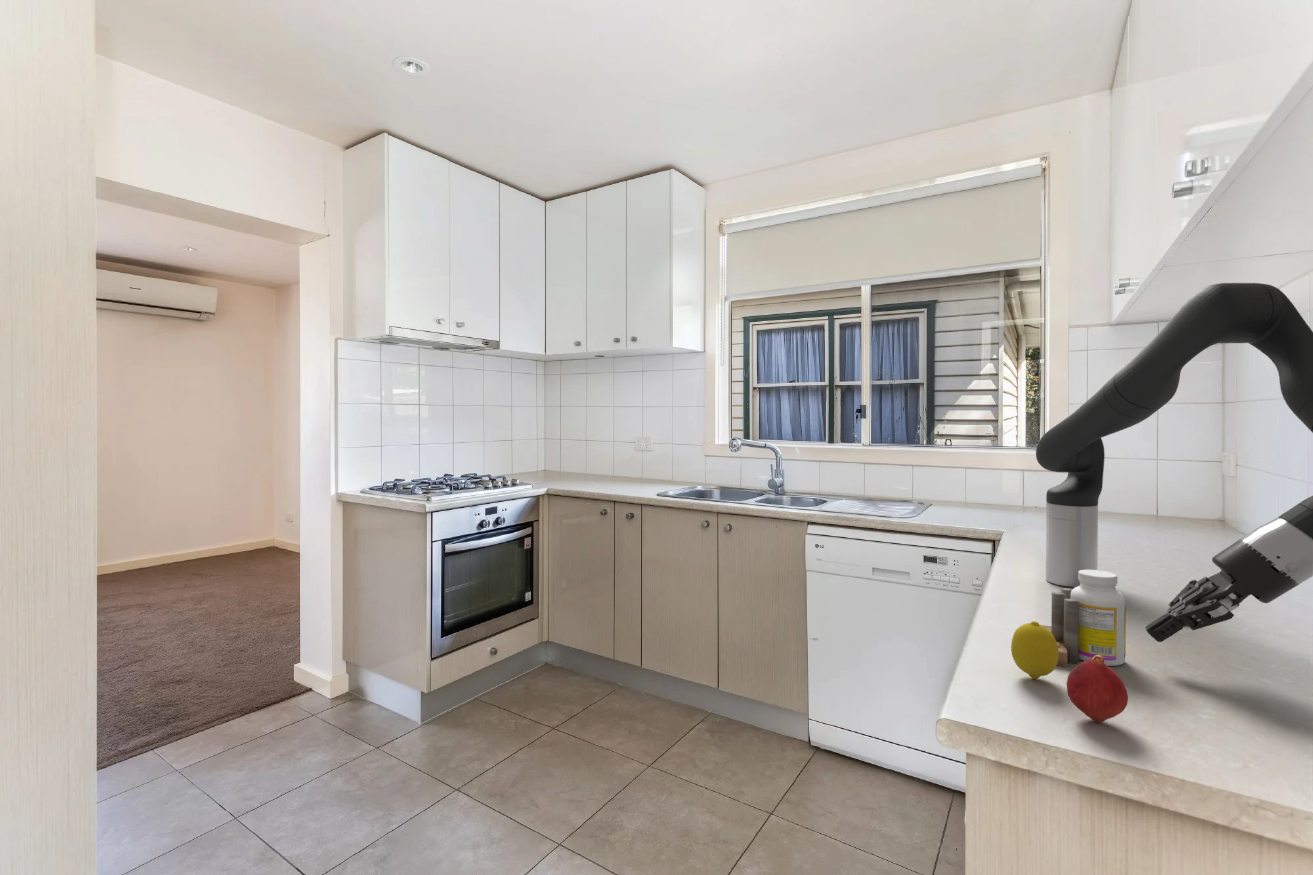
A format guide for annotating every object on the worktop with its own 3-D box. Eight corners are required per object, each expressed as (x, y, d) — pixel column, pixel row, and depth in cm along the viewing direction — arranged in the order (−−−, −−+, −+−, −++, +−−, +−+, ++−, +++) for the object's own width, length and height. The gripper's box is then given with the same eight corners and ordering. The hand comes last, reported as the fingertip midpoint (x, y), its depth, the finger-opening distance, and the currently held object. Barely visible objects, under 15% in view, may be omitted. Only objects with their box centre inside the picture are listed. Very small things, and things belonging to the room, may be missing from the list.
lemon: (1047, 672, 85) (1048, 616, 84) (1065, 689, 79) (1066, 629, 79) (1004, 669, 86) (1005, 613, 86) (1019, 685, 80) (1020, 627, 80)
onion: (1067, 725, 70) (1068, 658, 70) (1064, 705, 75) (1065, 642, 75) (1130, 739, 67) (1131, 668, 67) (1123, 717, 72) (1124, 651, 72)
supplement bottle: (1092, 647, 93) (1093, 566, 93) (1136, 664, 87) (1138, 576, 87) (1059, 652, 92) (1059, 569, 91) (1101, 670, 85) (1102, 580, 85)
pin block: (1029, 635, 99) (1030, 581, 99) (1073, 641, 96) (1073, 586, 96) (1031, 660, 89) (1031, 600, 88) (1080, 668, 86) (1080, 606, 85)
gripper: (1229, 530, 86) (1121, 602, 93) (1260, 547, 75) (1135, 627, 82) (1280, 571, 84) (1165, 642, 90) (1320, 595, 72) (1186, 674, 79)
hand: (1151, 635), depth 86 cm, fingers closed
